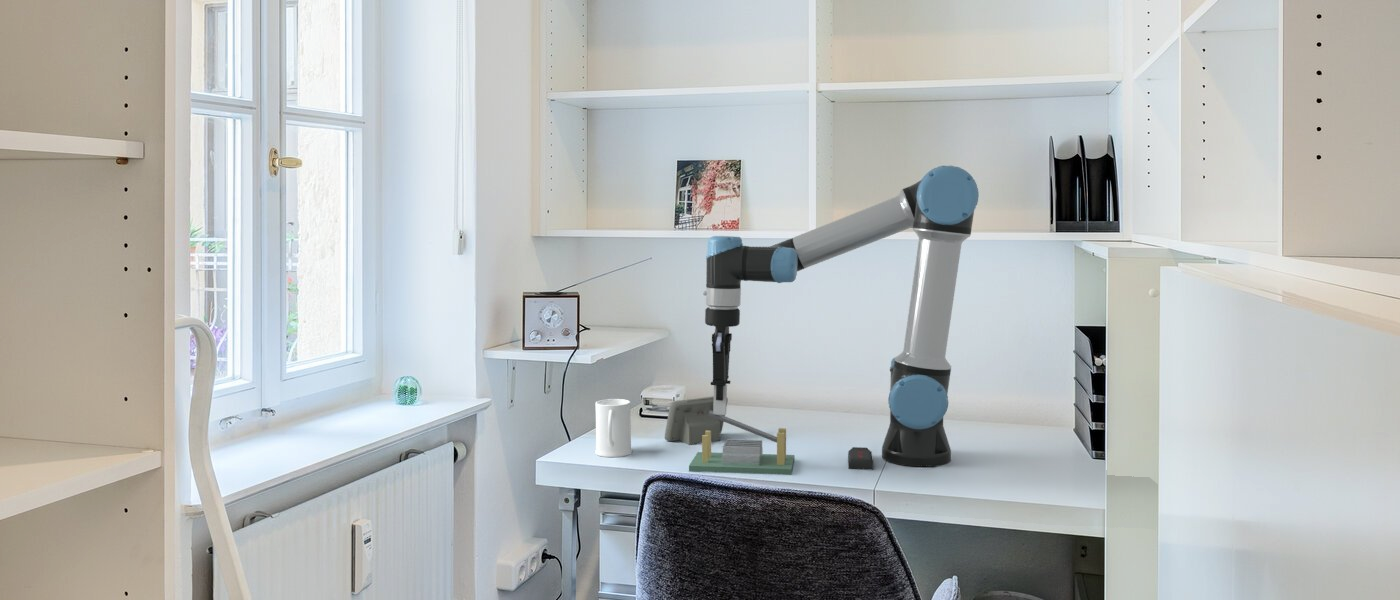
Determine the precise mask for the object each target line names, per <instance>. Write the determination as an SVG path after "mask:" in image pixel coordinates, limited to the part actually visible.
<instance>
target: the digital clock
mask: <svg viewBox="0 0 1400 600" xmlns="http://www.w3.org/2000/svg"><path fill="white" fill-rule="evenodd" d="M713 402H714V395H713V396H712V395H711V396H703V397H695V398H688V399H687V398H685V399H679V400H673V401H671V403H670V404H669V409H668V414H667V419H666V424H665V425H666V427H665V432H664V439H665V441H667V442H677V441H679V442H681V443H684V444H686V445H689V446H690V444H691V445H697V443H698V444H702V435H705V431H711V441H712V442H717V441H718V440H719V441H721V434H722V431H723V426H724V423H725V422H724V421H721V420H719V419H716V418H714V417H711V416H709V415H708V414H709V412H710V410H711V411H713ZM727 402H728V398H727ZM726 408H728V404H727V405H726ZM723 416H726V415H723Z"/></svg>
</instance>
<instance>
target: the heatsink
mask: <svg viewBox="0 0 1400 600" xmlns="http://www.w3.org/2000/svg"><path fill="white" fill-rule="evenodd" d="M725 440H726V441H725V442H724V444H723V446H722V453H723V455H722V464H724V465H754V466H759V465H760V462H761V459H762V457H763V454H764V452H763V451H764V450H763V440H758V439H731V438H730V439H728V438H727V439H725Z"/></svg>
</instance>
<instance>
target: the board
mask: <svg viewBox="0 0 1400 600" xmlns="http://www.w3.org/2000/svg"><path fill="white" fill-rule="evenodd" d="M776 437H777V443H776V453H775V454H774V453H773V454H772V453H770V454H769V453H763V457H762V459H761V462H760V465H759V466H754V465H724V464H722V455H723V452H712V442H711V431H705V435H702V443H701V450H702V451H697V452H696V454H695V456H694V457H693V459H692V460H691V462H690V463H689V465H688V472H698V473H700V472H702V473H731V474H732V473H733V474H758V475H759V474H760V475H761V474H763V475H783V476H787V475H789V476H791V475H793V469H794V465H795V461H796V460H795V459H796V458H795V454H787V428H786V427H778V432H776Z"/></svg>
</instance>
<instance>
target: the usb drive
mask: <svg viewBox="0 0 1400 600" xmlns="http://www.w3.org/2000/svg"><path fill="white" fill-rule="evenodd" d="M847 453H848V454H847V455H848V456H847V459H848V460H847V461H848V462H847V463H848V466H847V467H848V470H863V471H864V470H865V471H867V470H869V471H873V470H874V461H873V453H872V451H871V450H870V449H869V448H868V447H858V446H857V447H856V446H853V447H852V448H850V450H848V452H847Z"/></svg>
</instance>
